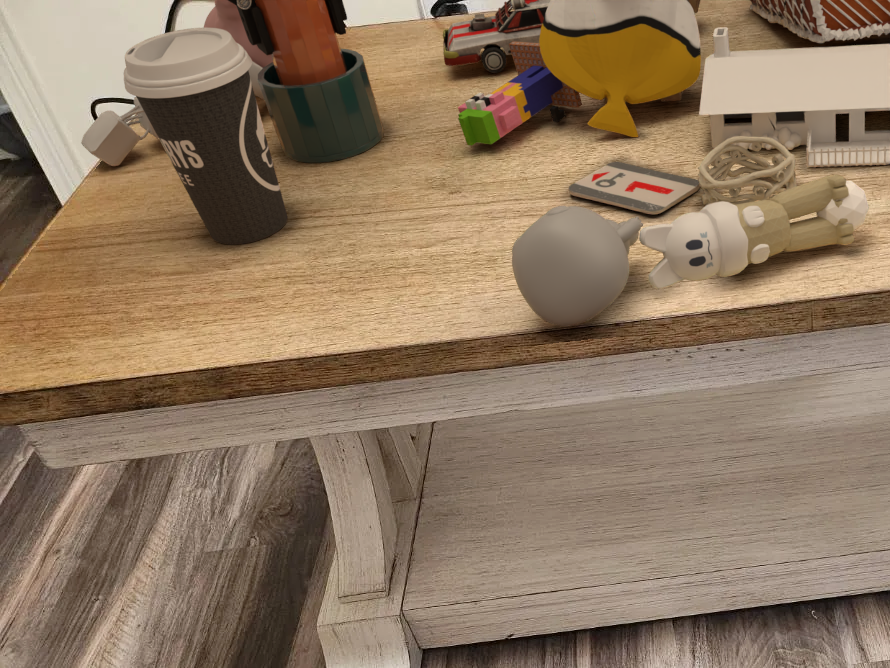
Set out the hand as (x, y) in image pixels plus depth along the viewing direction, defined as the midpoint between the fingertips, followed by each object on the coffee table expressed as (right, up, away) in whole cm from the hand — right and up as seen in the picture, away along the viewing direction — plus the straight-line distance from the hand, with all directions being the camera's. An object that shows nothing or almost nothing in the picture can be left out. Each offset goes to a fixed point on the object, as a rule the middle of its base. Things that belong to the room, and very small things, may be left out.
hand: (301, 38), depth 101 cm
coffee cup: (-2, -19, -5) cm, 20 cm away
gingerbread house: (+56, +23, +8) cm, 61 cm away
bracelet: (+39, -13, -7) cm, 42 cm away
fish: (+22, +3, 0) cm, 22 cm away
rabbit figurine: (+49, -19, -14) cm, 54 cm away
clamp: (-14, -5, +11) cm, 18 cm away
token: (+35, -17, -9) cm, 40 cm away
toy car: (+18, +6, +19) cm, 27 cm away
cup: (0, -3, +3) cm, 4 cm away
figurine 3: (+30, -22, -16) cm, 41 cm away
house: (+49, -8, +1) cm, 50 cm away
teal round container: (+1, -7, +7) cm, 10 cm away
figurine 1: (-10, +3, +18) cm, 21 cm away
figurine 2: (+21, 0, +7) cm, 22 cm away
